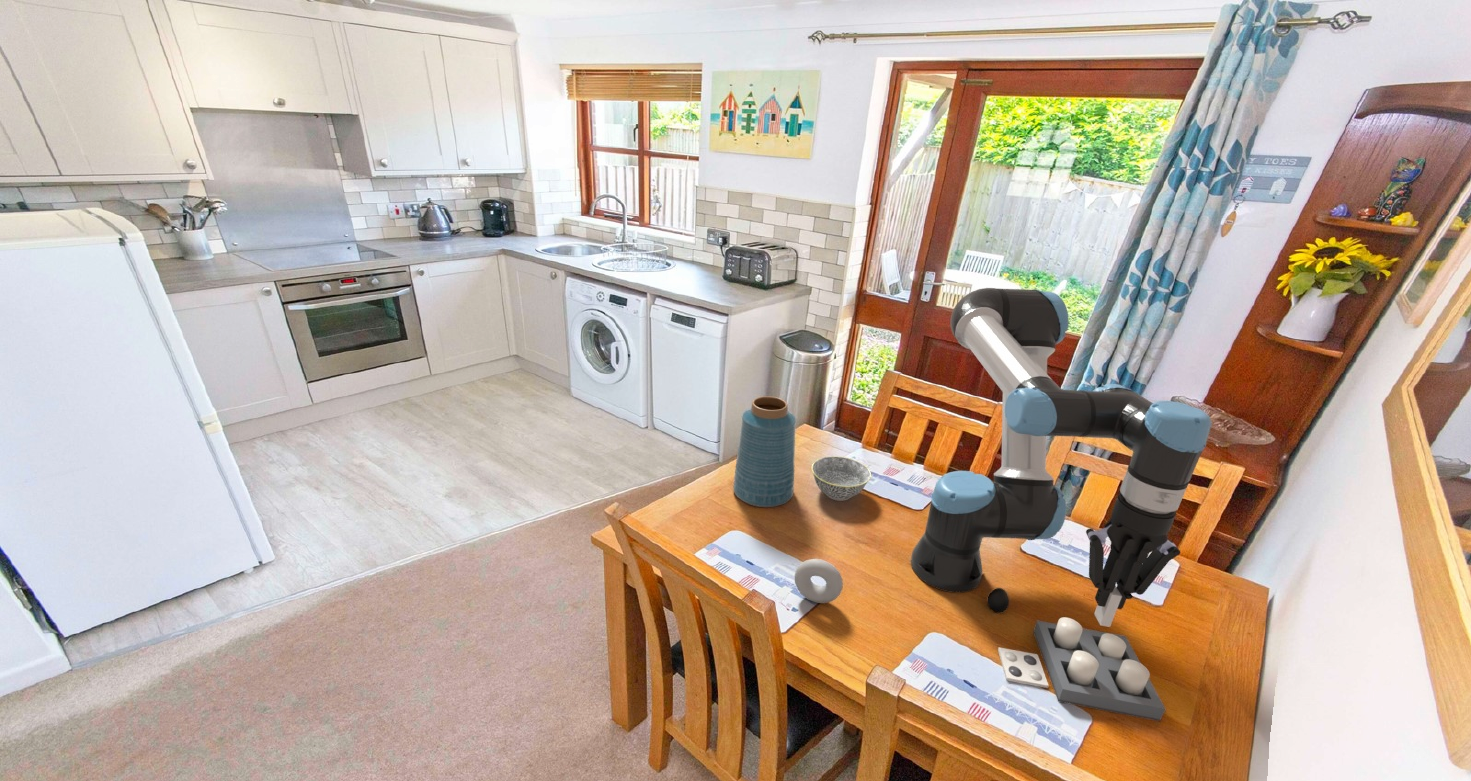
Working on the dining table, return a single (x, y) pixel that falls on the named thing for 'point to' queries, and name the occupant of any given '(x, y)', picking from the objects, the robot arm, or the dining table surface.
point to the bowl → (840, 476)
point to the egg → (998, 600)
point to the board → (1104, 685)
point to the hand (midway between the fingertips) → (1102, 619)
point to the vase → (766, 453)
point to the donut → (822, 570)
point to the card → (1022, 667)
